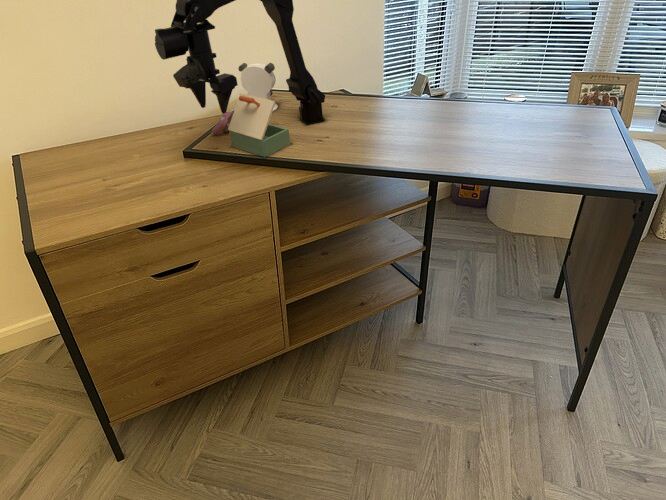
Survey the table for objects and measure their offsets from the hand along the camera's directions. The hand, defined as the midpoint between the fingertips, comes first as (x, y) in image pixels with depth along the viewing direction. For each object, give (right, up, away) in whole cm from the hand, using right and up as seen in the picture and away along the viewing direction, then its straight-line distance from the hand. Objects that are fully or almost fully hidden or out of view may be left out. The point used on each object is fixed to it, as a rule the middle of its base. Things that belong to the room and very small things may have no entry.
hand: (213, 110), depth 132 cm
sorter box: (+12, -8, +10) cm, 17 cm away
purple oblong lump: (-1, 0, +22) cm, 22 cm away
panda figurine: (+8, +11, +36) cm, 39 cm away
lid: (+10, -1, +3) cm, 11 cm away
